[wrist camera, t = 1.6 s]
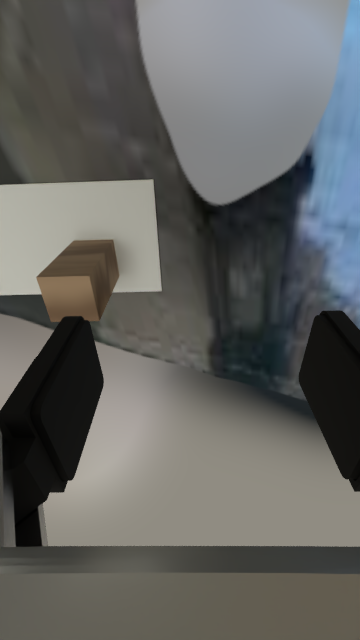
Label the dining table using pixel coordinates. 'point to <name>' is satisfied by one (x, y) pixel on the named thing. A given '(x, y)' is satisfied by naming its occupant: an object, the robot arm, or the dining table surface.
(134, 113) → the dining table surface
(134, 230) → the white rectangular board
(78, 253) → the walnut block
